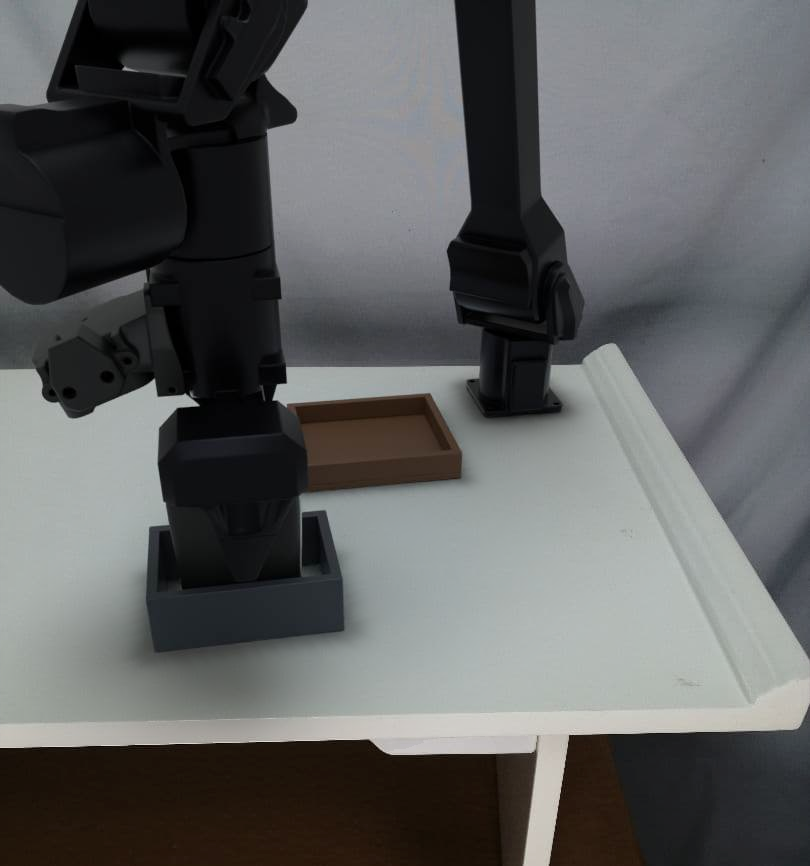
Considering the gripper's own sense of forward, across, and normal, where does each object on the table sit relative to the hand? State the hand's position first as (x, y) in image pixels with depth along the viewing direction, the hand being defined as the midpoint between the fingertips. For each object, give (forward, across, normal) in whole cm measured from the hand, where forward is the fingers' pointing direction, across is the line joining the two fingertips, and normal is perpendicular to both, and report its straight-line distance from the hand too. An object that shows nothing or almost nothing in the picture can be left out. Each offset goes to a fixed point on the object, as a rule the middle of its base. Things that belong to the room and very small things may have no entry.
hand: (241, 531), depth 52 cm
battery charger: (+5, 0, 0) cm, 5 cm away
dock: (+5, 0, 0) cm, 5 cm away
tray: (+5, -17, +10) cm, 20 cm away
